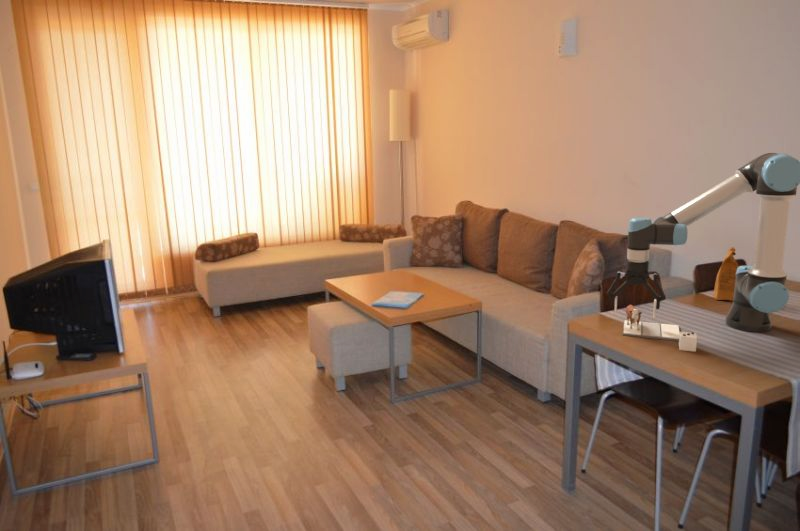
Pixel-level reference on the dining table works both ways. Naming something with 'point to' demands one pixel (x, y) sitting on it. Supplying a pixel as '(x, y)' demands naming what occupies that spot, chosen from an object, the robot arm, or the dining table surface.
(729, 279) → the coffee package
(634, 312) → the bull figurine
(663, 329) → the game board
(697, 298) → the dining table surface
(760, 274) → the robot arm
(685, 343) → the white block with holes
